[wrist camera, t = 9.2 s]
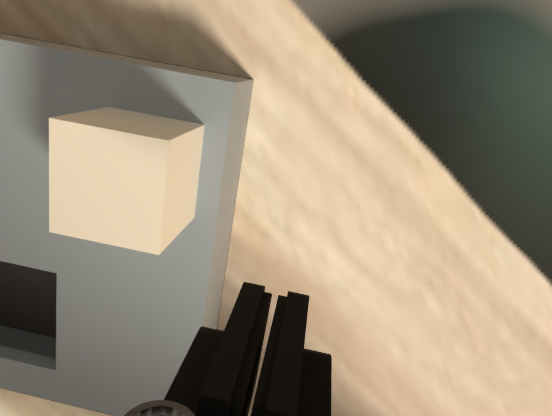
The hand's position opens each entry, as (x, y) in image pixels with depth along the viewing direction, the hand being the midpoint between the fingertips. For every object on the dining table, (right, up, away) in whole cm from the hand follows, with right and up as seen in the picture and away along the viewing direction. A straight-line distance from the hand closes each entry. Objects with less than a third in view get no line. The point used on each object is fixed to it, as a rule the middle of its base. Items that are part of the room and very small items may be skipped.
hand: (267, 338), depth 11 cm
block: (-6, +6, +12) cm, 15 cm away
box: (-16, +3, +19) cm, 25 cm away
